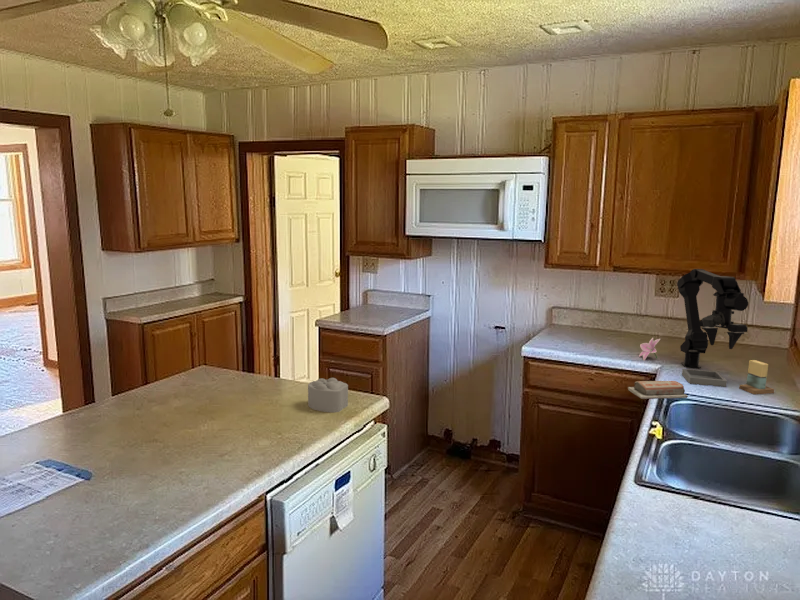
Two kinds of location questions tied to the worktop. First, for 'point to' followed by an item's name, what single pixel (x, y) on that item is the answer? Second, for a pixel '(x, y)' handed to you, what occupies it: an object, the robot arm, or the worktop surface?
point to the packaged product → (658, 389)
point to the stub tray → (704, 377)
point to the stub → (758, 368)
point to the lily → (648, 348)
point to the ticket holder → (756, 385)
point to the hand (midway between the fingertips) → (721, 347)
